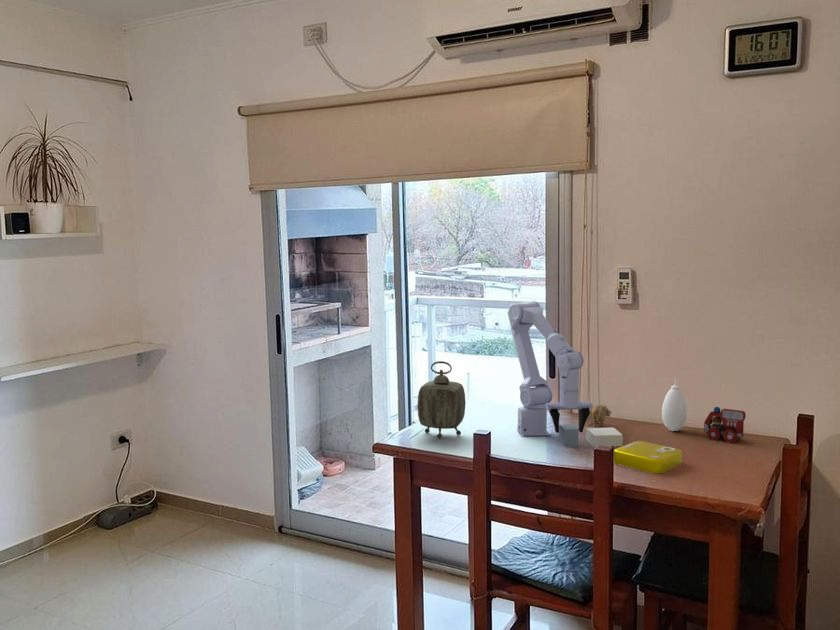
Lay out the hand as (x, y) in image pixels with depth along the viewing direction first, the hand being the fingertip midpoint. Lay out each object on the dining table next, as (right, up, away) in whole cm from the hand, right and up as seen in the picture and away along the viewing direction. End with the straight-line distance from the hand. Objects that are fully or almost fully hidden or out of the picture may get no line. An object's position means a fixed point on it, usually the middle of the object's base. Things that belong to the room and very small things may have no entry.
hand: (568, 431), depth 230 cm
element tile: (+19, -7, -19) cm, 28 cm away
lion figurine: (+14, -2, +20) cm, 25 cm away
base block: (+11, -4, +1) cm, 12 cm away
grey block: (0, -4, +1) cm, 4 cm away
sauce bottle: (+38, -2, +15) cm, 41 cm away
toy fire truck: (+51, -3, +5) cm, 52 cm away
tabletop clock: (-40, -3, +9) cm, 41 cm away
